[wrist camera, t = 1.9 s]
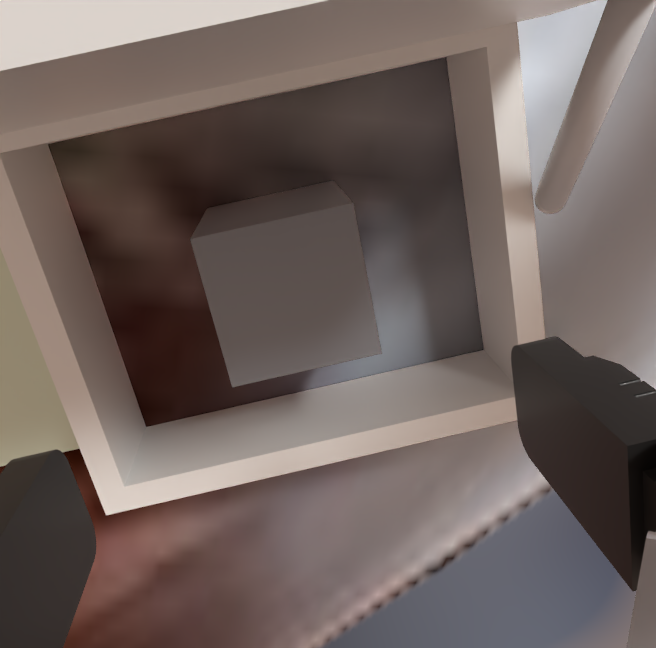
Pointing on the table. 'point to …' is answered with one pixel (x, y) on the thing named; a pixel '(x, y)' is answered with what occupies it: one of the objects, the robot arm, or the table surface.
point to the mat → (26, 385)
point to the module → (286, 282)
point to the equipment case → (251, 83)
